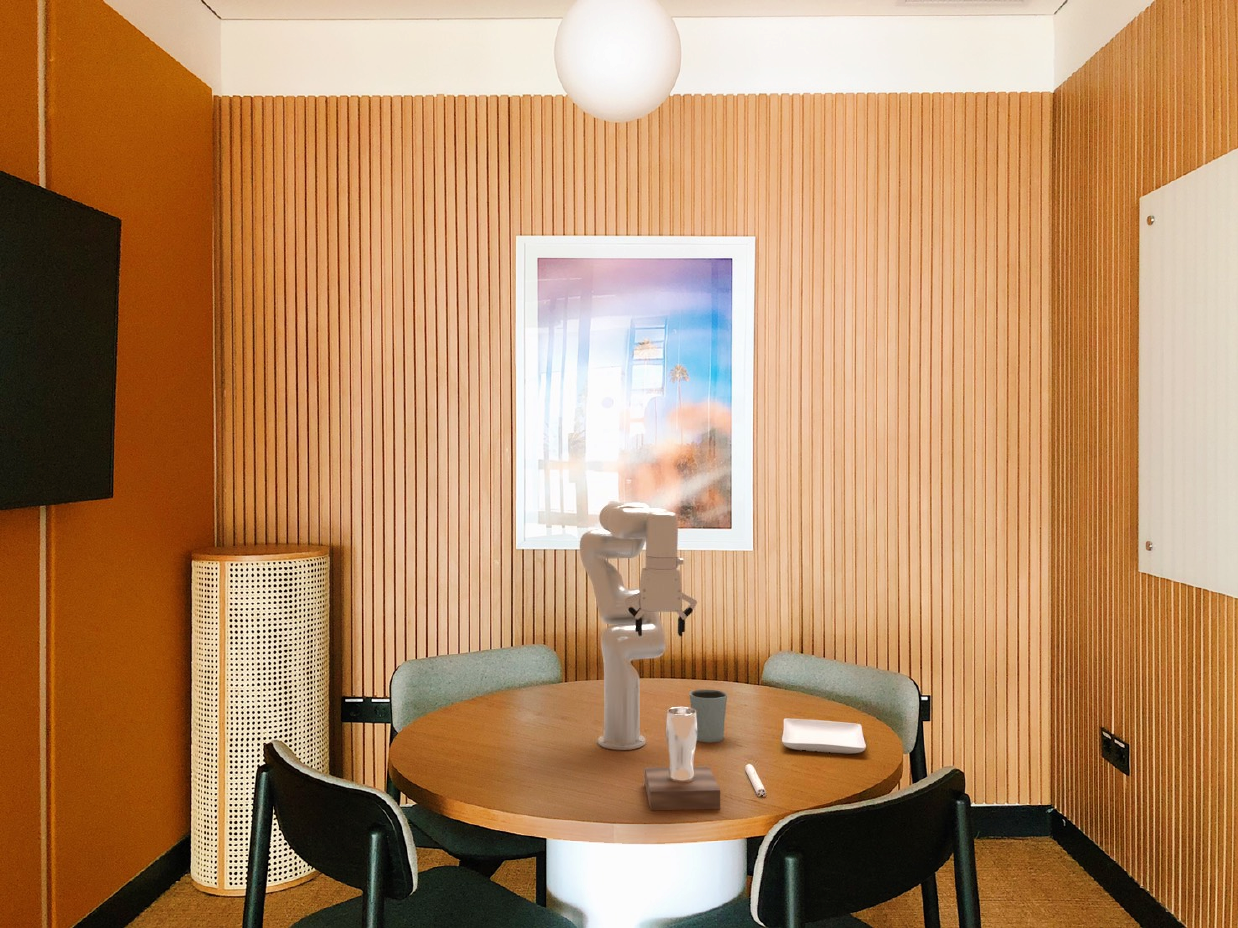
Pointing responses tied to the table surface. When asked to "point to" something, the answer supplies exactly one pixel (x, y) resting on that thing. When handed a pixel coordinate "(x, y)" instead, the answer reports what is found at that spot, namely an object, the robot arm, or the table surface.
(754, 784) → the marker
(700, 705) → the grey green cup
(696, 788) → the walnut plinth
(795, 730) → the salad plate
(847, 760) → the table surface
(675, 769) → the beer glass
